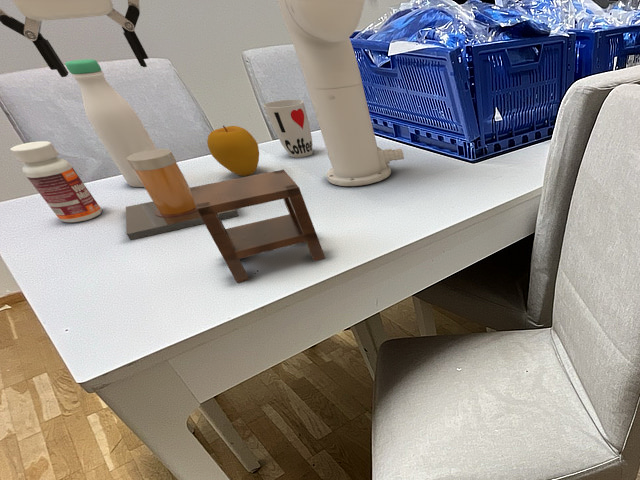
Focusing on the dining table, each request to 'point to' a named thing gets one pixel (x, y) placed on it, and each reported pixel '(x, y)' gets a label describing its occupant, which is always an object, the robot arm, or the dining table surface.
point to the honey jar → (162, 180)
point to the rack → (260, 233)
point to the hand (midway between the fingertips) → (105, 70)
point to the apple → (234, 149)
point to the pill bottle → (56, 182)
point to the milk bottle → (111, 117)
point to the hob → (161, 220)
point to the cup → (291, 126)
